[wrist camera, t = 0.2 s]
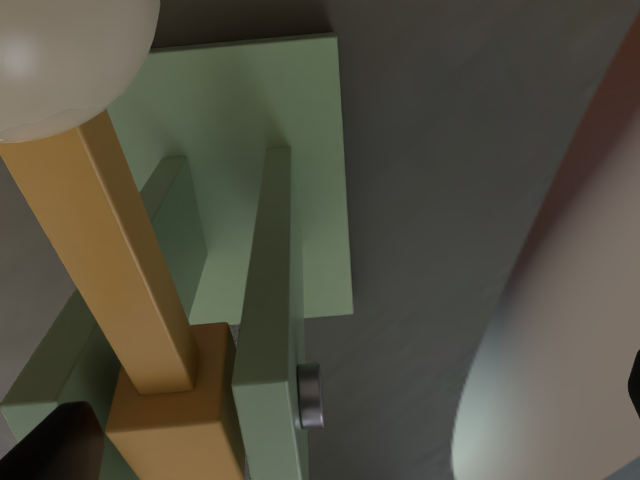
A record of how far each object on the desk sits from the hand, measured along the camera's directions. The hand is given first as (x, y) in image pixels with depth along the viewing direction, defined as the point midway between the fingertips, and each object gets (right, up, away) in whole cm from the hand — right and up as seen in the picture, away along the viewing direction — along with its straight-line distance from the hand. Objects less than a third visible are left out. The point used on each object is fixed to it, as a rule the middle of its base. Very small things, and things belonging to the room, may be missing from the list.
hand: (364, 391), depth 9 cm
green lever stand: (-4, +4, +13) cm, 15 cm away
